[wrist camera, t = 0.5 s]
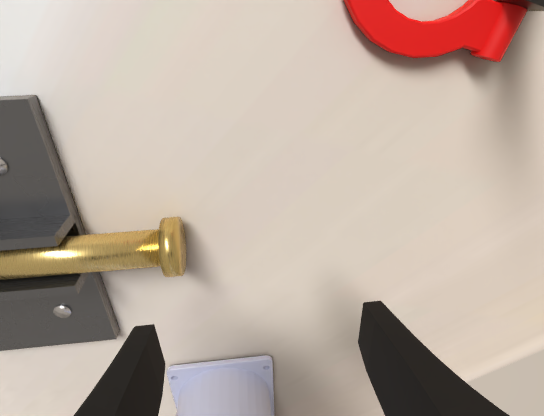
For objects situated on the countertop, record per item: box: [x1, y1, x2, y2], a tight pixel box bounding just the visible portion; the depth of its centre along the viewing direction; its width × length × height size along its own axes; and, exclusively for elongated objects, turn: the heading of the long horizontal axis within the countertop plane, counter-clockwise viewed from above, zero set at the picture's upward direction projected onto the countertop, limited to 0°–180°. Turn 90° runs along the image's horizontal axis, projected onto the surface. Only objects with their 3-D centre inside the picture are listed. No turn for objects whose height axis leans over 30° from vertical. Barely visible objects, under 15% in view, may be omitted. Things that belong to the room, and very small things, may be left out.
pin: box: [0, 217, 186, 280], centre depth 18 cm, size 3×13×3 cm, turn 91°
